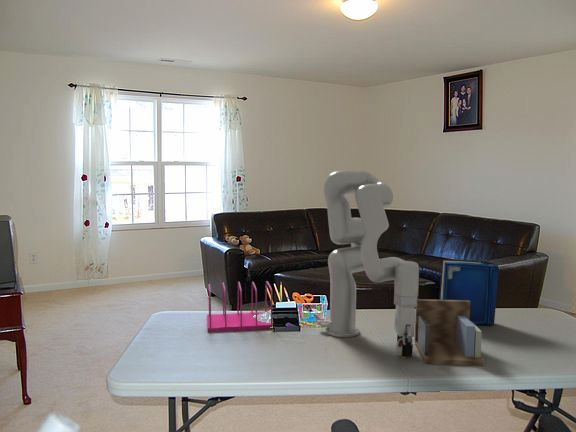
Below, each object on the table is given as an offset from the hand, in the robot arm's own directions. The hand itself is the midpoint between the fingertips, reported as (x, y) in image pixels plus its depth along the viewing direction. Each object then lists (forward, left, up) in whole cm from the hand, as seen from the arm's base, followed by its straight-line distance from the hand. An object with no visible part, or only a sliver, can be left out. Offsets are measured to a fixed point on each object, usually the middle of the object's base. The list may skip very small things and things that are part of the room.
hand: (404, 350), depth 162 cm
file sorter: (-59, +29, -2) cm, 66 cm away
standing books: (+21, +2, 0) cm, 21 cm away
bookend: (+6, +2, 0) cm, 7 cm away
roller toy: (0, 0, -2) cm, 2 cm away
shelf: (+14, +2, -2) cm, 15 cm away
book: (+31, +37, -2) cm, 48 cm away
